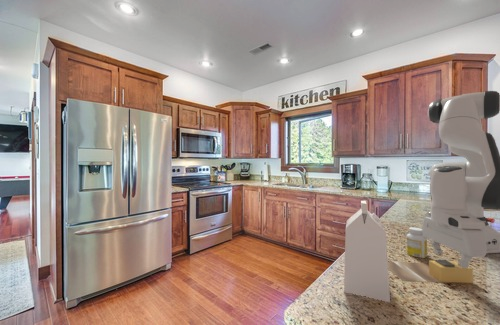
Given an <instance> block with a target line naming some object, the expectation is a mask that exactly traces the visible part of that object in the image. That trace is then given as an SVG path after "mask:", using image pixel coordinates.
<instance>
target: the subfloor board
mask: <svg viewBox="0 0 500 325" xmlns="http://www.w3.org/2000/svg"><path fill="white" fill-rule="evenodd" d="M388 271H390V272H391V273H392V274H394V275H395V276H396V277H397V278H398V279H400V280H401V281H402V282H413V283H414V282H415V283H416V282H417V283H418V282H419V283H420V282H421V283H438V284H439V283H440V284H441V283H442V284H443V283H444V284H465V285H473V283H460V282H441V281H439V280H438V279H436V278H435V277H433V276H432V275H430V274H429V262H407V261H406V262H405V261H388Z"/></svg>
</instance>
